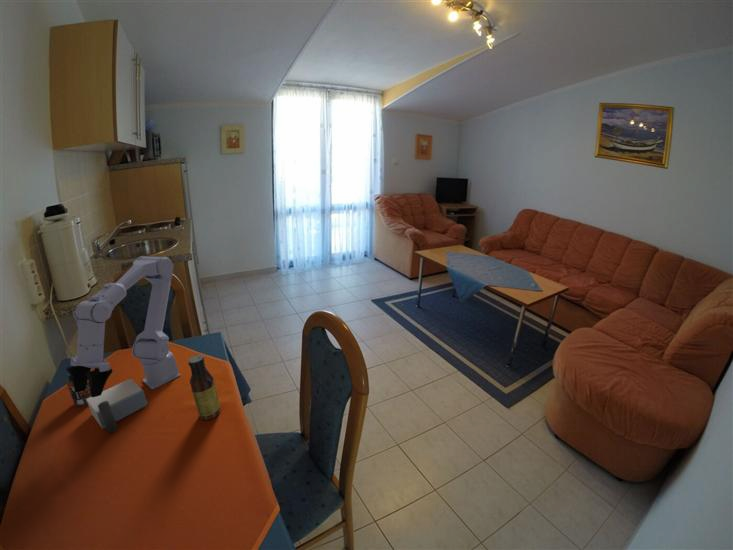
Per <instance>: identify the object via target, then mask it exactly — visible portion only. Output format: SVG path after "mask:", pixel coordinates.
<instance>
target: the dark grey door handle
mask: <svg viewBox="0 0 733 550" xmlns="http://www.w3.org/2000/svg"><path fill="white" fill-rule="evenodd" d="M146 397H147V396H146V394H145V391H144V390H143V389H142V390H141V391H139V392H137V393H135V394H133V395H131V396H129V397H127V398H125V399H123V400H121V401H119V402H117V403H115V404H113V405H111V406H110V405H109V402H108V401H104V402H102V403H100V404H99V405H98V408H99V412H97V415H98V418H99V420H100V423H101V426H102V427H101V426H100V427H101V429H106V432H107V433H113V432H115V431H117V430H118V424H117V422H118V421H120V420H122V419H124V418H125V417H127V416H129V415H131V414H133V413H135V412H136V411H139V410H140V409H143V408H144V407H146V406H148V401H147V398H146Z"/></svg>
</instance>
